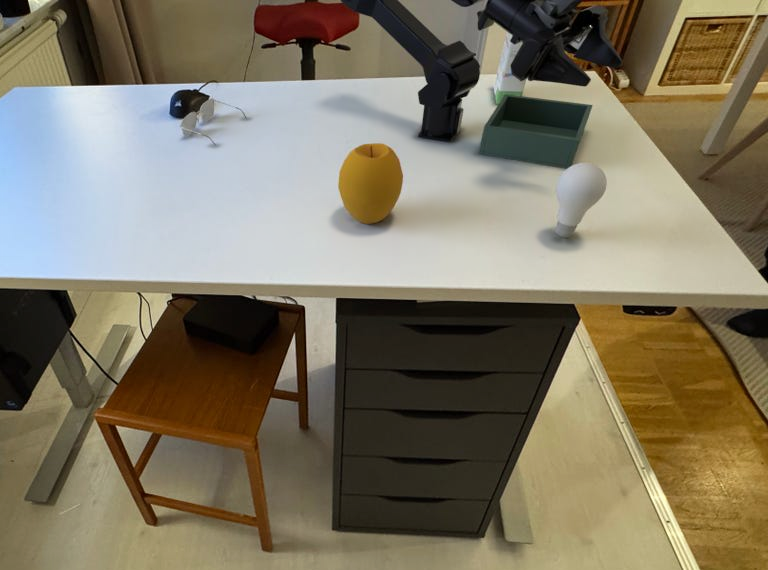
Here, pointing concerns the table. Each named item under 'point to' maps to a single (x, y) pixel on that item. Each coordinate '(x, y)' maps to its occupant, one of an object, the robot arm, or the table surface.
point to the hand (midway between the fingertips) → (604, 74)
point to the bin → (535, 130)
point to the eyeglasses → (191, 119)
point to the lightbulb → (577, 195)
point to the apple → (370, 182)
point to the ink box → (507, 72)
